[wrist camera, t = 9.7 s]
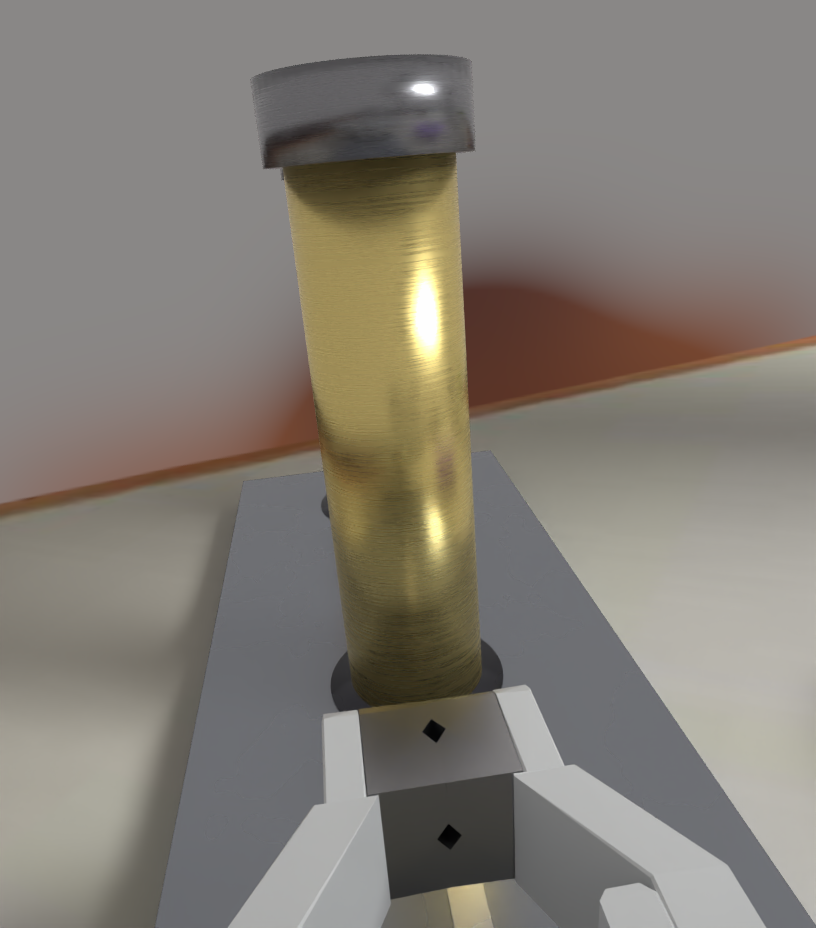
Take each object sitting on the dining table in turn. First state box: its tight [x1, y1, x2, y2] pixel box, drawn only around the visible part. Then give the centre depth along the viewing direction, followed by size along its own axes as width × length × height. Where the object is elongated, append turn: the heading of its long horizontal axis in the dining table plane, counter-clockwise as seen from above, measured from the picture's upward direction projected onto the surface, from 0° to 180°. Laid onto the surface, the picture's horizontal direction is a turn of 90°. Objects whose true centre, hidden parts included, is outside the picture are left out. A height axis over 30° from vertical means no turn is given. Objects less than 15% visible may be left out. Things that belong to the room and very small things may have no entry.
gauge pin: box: [250, 54, 482, 707], centre depth 17 cm, size 4×4×15 cm
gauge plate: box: [155, 451, 816, 928], centre depth 21 cm, size 30×12×1 cm, turn 8°
